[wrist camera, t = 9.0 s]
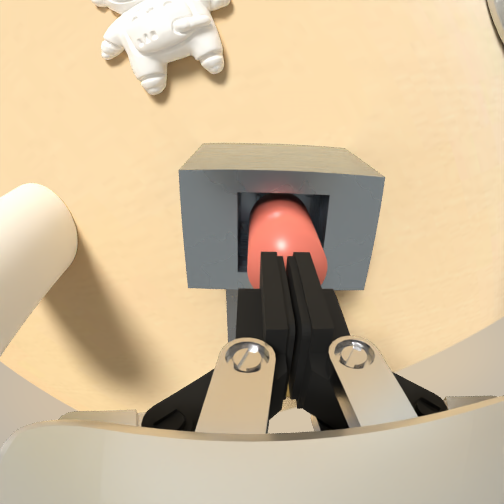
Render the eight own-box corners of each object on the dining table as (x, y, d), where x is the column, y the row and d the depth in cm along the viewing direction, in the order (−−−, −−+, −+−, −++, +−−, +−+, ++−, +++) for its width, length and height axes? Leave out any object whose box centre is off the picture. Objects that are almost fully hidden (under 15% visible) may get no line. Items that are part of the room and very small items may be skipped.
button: (310, 192, 15) (332, 234, 11) (306, 247, 17) (321, 302, 13) (249, 190, 15) (247, 232, 11) (248, 246, 17) (246, 302, 13)
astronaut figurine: (119, 108, 18) (99, 112, 16) (90, -33, 13) (70, -44, 10) (249, 70, 17) (247, 66, 15) (210, -76, 12) (203, -96, 9)
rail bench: (344, 148, 19) (385, 177, 13) (311, 367, 29) (320, 429, 23) (203, 143, 19) (178, 170, 13) (215, 367, 29) (208, 429, 23)
